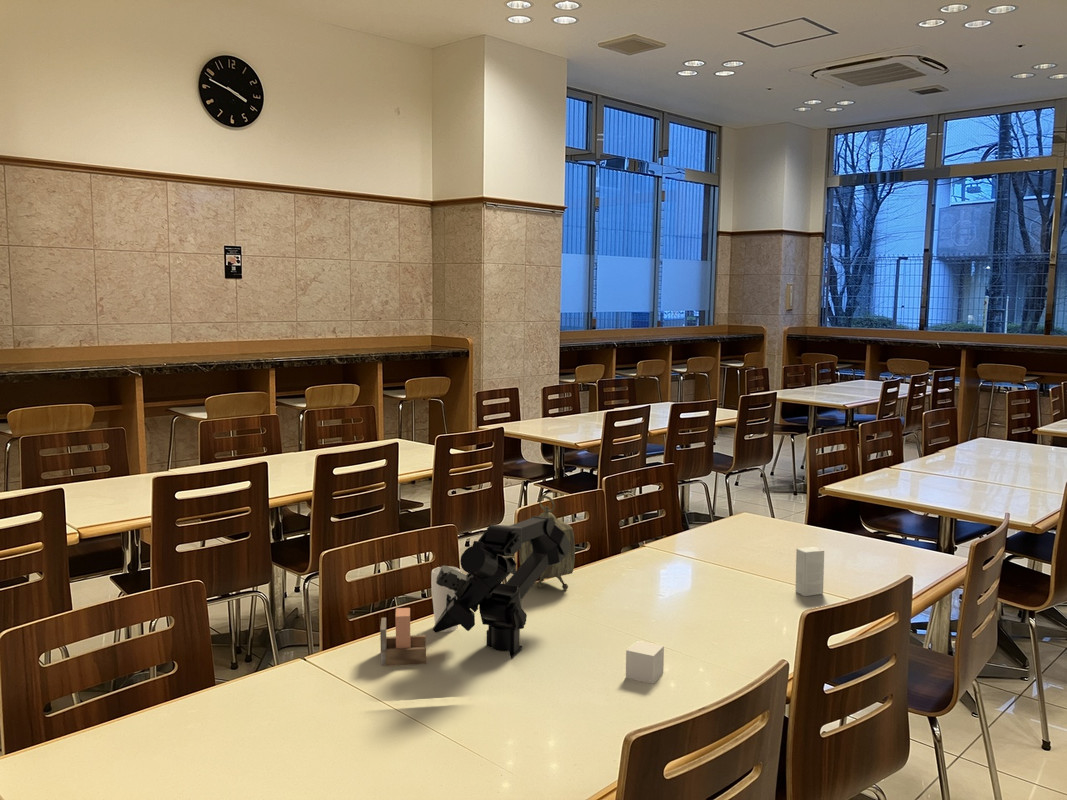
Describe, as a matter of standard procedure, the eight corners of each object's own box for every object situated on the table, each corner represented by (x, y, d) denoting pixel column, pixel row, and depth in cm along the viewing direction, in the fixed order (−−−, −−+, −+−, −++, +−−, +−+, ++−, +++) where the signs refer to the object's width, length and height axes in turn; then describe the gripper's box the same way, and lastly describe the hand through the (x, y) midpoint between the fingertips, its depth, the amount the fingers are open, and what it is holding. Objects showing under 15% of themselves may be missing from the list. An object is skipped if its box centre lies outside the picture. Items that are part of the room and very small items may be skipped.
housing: (430, 654, 192) (429, 614, 191) (431, 669, 185) (430, 628, 184) (382, 656, 191) (381, 616, 190) (380, 672, 183) (380, 630, 182)
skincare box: (813, 589, 237) (815, 546, 235) (823, 594, 233) (825, 550, 231) (794, 591, 235) (795, 548, 233) (803, 596, 231) (805, 552, 229)
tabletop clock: (574, 590, 235) (575, 499, 232) (547, 596, 230) (547, 503, 227) (543, 576, 247) (544, 489, 244) (516, 582, 242) (516, 493, 239)
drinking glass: (456, 639, 201) (455, 575, 199) (428, 637, 202) (427, 573, 201) (464, 628, 208) (464, 567, 206) (437, 626, 209) (436, 565, 207)
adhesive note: (653, 684, 178) (653, 656, 177) (625, 678, 181) (626, 650, 180) (663, 673, 183) (664, 645, 183) (636, 667, 186) (637, 640, 185)
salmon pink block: (410, 652, 190) (409, 607, 189) (410, 661, 185) (409, 615, 184) (396, 652, 190) (395, 608, 189) (396, 662, 185) (395, 616, 184)
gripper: (458, 542, 197) (409, 591, 197) (457, 567, 178) (404, 621, 178) (493, 576, 198) (445, 624, 198) (496, 603, 179) (443, 657, 180)
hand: (434, 630), depth 189 cm, fingers closed
